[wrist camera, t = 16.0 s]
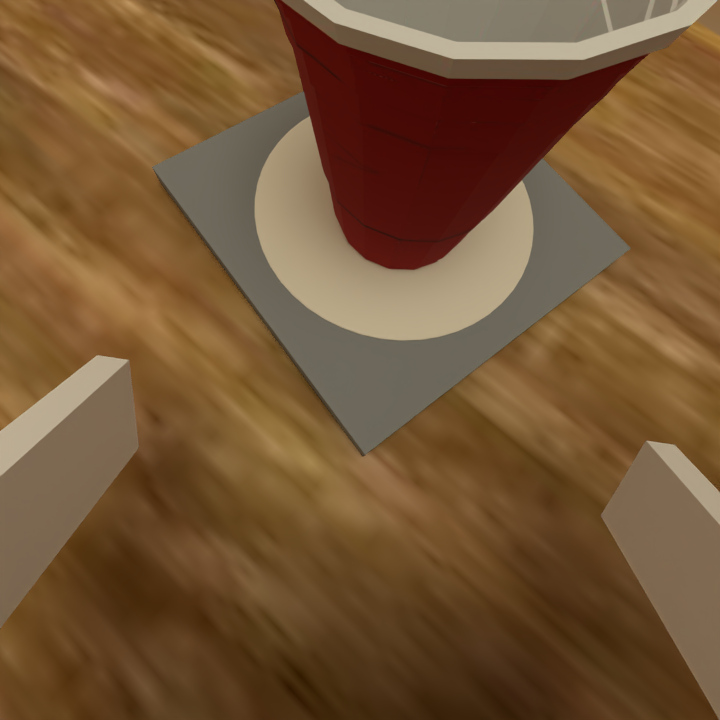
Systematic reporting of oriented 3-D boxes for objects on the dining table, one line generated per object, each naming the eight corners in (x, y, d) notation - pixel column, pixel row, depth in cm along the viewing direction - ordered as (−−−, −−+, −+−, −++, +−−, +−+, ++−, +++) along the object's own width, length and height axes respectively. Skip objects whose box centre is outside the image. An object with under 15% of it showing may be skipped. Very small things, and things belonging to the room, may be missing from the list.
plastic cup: (306, 99, 21) (287, -367, 10) (518, 147, 21) (747, -248, 10) (246, 294, 18) (110, -52, 6) (496, 348, 18) (799, 111, 7)
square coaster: (415, 50, 24) (420, 31, 23) (616, 259, 21) (632, 247, 20) (160, 182, 20) (151, 165, 19) (362, 456, 17) (365, 454, 16)
